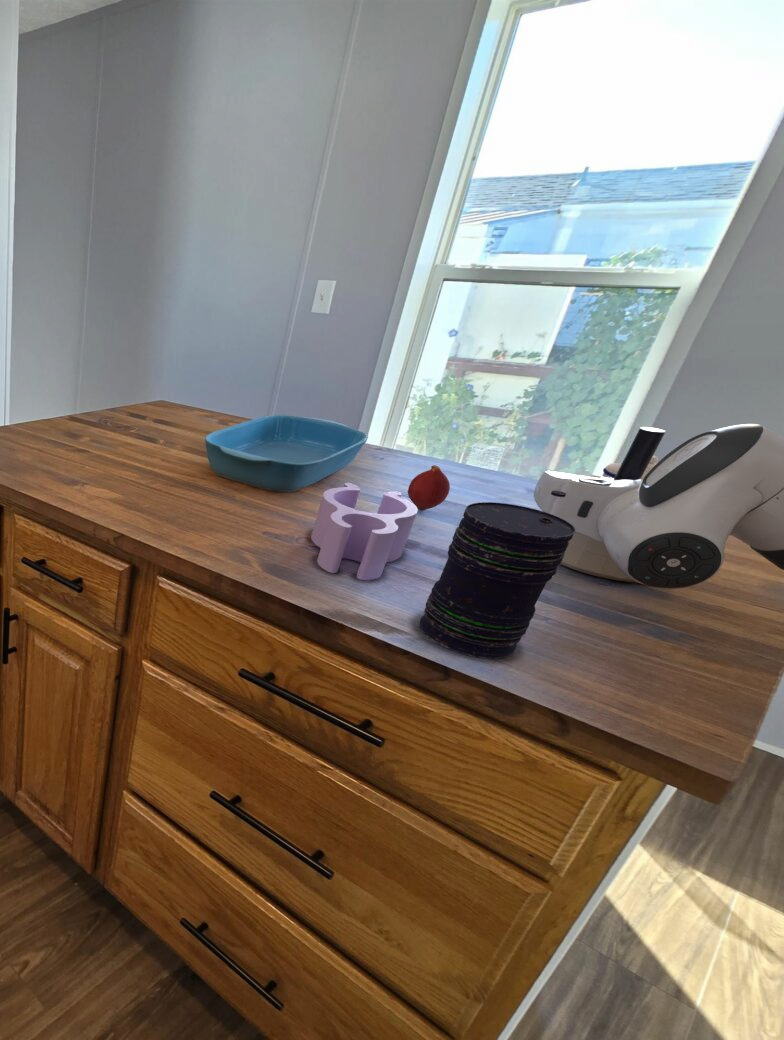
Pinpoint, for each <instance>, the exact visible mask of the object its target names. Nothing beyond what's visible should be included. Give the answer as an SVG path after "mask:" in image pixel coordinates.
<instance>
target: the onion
mask: <svg viewBox="0 0 784 1040" xmlns="http://www.w3.org/2000/svg"><path fill="white" fill-rule="evenodd" d="M430 467H431V468H430V469H428V470H425V471H423V472H420V473H418V474H417V475H415V476H414V477H413V479H412V480H411V481H410V483H409V485H408V489H407V495H408V499H410V502H412V503H413V504H414V505H415V506H416V507H417V509H418V511H420V512H423V511H427V510H430V509H433V508H436V507H437V506H439V505H441V504H442V503H443V502H445V500H446V499H447V497H448V495H449V494H450V490H451V485H450V481H449V479H448V477H447V475H446V474H445V473H444V472H443V471H442V469H441V467H439V465H436V464H434V465H431V466H430Z"/></svg>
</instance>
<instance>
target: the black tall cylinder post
mask: <svg viewBox="0 0 784 1040" xmlns="http://www.w3.org/2000/svg"><path fill="white" fill-rule="evenodd" d="M665 434H666V430H664V429H661V428H656V427H650V426H649V427H648V426H641V427H639V429H638V431H637V433H636V435H635V437H634V439H633V440H632V442H631V444H630V446H629V449H628V450H627V453H626V454H625V457H624V458H623V460H622V462H621V463H622V464H621V466H620V468H619V470H618V472H617V474H616V476H615V478H614V480H638V479H641V477H642V475H643V474H644V472H645V470H646V468H647V466H648V464H649V462H650V460H651V459H652V457H653V456H655V453H656V451H657V449H658V447H659V445H660V444H661V441H662V440H663V437H664V436H665Z"/></svg>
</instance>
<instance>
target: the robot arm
mask: <svg viewBox="0 0 784 1040" xmlns="http://www.w3.org/2000/svg"><path fill="white" fill-rule="evenodd" d="M656 463H657V464H656V465H655V466H654V467H653V468H652V469H651V470H650V471H649V472H648V473H647V475H646V476H645V477H644V479H638V480H614V478H608V477H602V476H601V477H600V478H595V477H589V476H585V475H581V474H574V473H567V472H562V471H554V470H545V471H543V472H542V473H541V475H540V476H539V478H538V480H537V482H536V484H535V487H534V490H533V492H532V494H533V499H534V501H535V503H536V505H537V507H538V508H539V510H540V511H543V512H546V513H549V514H552V515H554V516H557V517H559V518H561V519H563V520H565V521H567V522H569V523H570V524H571V525H573V526H574V528H575V530H576V531H575V533H578V534H582V535H584V536H587V537H589V538H591V539H593V540H595V541H598V542H600V543H602V544H605V547H606V549H607V551H608V553H609V555H610V557H611V559H612V560H613V562H614V563H615V564H616V565H617V567H618V568H619V569H620V570H621V571H622V572H623V573H624V574H625V575H626V576H628V577H629V578H631V579H632V580H634V581H636V582H635V583H638V584H641V585H643V586H646V587H650V588H655V589H656V588H657V589H666V590H675V589H685V588H689V587H690V588H691V587H694V586H697V585H700V584H702V583H704V582H706V581H708V580H710V579H711V578H713V577H714V576H715V575H716V574H717V572H719V570H720V569H721V567H722V565H723V563H724V560H725V547H726V543H727V540H728V538H729V537H730V536H732V537H734V538H736V539H737V540H739V541H740V542H743V543H744V544H746V545H748V546H749V547H750V548H751V549H752V550H753V551H755V552H756V553H757V554H759V555H760V556H762V558H763V557H764V559H765V560H767V561H769V562H770V563H771V564H773V565H774V566H776V567H777V568H779V569H780V570H783V571H784V436H783V435H780V434H778V433H777V432H775V431H773V430H771V429H768V428H767V427H764V425H762V424H759V423H743V424H734V425H729V426H726V427H721V428H717V429H713V430H709V431H706V432H702V433H700V434H697V435H695V436H693V437H691V438H689V439H687V440H686V441H684V442H682V443H681V444H679V445H678V446H676V448H674V449H673V450H671V451H670V452H668V454H666V455H665V456H664V457H662V458H661V459H660V460H658V461H657V462H656ZM554 490H555V491H562V492H565V493H566V496H565V497H557V496H553V495H551V492H552V491H554Z"/></svg>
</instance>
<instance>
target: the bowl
mask: <svg viewBox="0 0 784 1040" xmlns="http://www.w3.org/2000/svg"><path fill="white" fill-rule="evenodd" d="M568 542H569V545H568V547H567V549H566V551H565V555H564V557H563V560H562V561H561V563H560V565H561V566H564V567H567V568H569V569H572V570H574V571H577V572H580V573H584V574H587V575H591V576H595V577H598V578H604V579H607V580H608V579H609V580H613V581H619V582H627V583H637V582H636V581H634V580H632V579H631V578H629V577H628V576H626V575H625V574H624V573H623V572H622V571H621V570H620V569H619V568H618V567H617V565H616V564H615V563H614V562H613V560H612V559H611V557H610V555H609V553H608V551H607V549H606V547H605V544H602V543H600V542H598V541H595V540H593V539H591V538H589V537H587V536H584V535H582V534H578V533H574V535H573V537H572V539H571V540H570V541H568Z"/></svg>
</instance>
